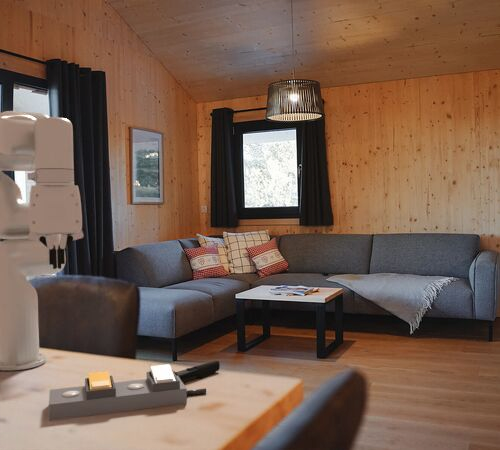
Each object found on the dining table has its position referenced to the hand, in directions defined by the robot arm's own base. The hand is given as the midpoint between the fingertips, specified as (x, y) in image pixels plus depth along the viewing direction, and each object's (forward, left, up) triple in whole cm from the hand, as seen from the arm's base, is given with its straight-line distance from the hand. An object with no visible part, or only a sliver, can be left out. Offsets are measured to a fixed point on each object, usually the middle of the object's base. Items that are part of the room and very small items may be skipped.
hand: (57, 267), depth 116 cm
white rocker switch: (+8, +20, -23) cm, 31 cm away
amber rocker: (+8, +8, -23) cm, 25 cm away
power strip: (+8, +14, -27) cm, 31 cm away
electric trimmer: (-3, +28, -28) cm, 40 cm away
